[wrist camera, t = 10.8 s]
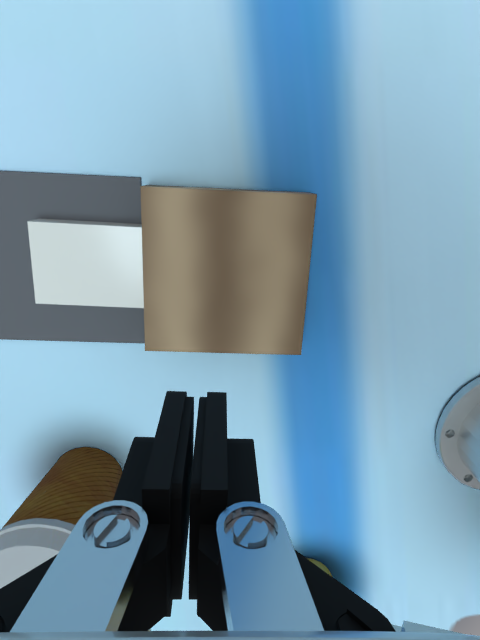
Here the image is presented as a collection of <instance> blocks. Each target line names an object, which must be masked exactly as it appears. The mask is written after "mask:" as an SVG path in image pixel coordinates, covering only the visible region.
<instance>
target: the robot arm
mask: <svg viewBox="0 0 480 640" xmlns="http://www.w3.org/2000/svg"><path fill="white" fill-rule="evenodd" d="M193 429H194V397H187V392H177V391H167V393H166V396H165V400H164V404H163V408H162V412H161V416H160V420H159V424H158V428H157V431H156V435H155V437H135V438H134V440H133V442H132V445H131V448H130V451H129V454H128V457H127V460H126V463H125V466H124V469H123V472H122V475H121V478H120V481H119V484H118V487H117V490H116V493H115V496H114V498H113V501H109V502H104V503H102V504H99V505H97V506H95V507H93V508H91V509H90V510H89V511H87V512H86V513H85V514H84V515H83V516H82V517H81V518H80V519H79V521H78V522H77V524H76V525H75V527H74V529H73V530H72V532H71V533H70V535H69V537H68V538H67V540H66V542H65V543H64V545H63V546H62V548H61V550H60V551H59V553H58V554H57V555H55V556H54V557H52V558H50V559H49V560H47V561H45V562H44V563H42V564H40V565H39V566H37V567H35V568H34V569H32V570H30V571H29V572H27V573H25V574H24V575H22V576H20V577H19V578H17V579H16V580H14V581H12V582H11V583H9V584H7V585H6V586H4V587H2V588H1V589H0V640H480V636H475V635H466V634H461V633H457V632H453V631H448V630H444V629H439V628H435V627H430V626H426V625H421V624H417V623H412V622H408V621H403V625H402V627H400V626H396V625H391V623H390V622H389V620H388V619H387V618H386V617H385V616H384V615H383V614H381V613H380V612H379V611H378V610H377V609H376V608H374V607H373V606H372V605H370V604H369V603H367V602H366V601H365V600H363V599H362V598H361V597H359V596H358V595H356V594H355V593H354V592H352V591H351V590H349V589H348V588H347V587H345V586H344V585H343V584H341V583H340V582H338V581H337V580H336V579H334V578H333V577H332V576H330V575H329V574H327V573H326V572H325V571H323V570H322V569H321V568H319V567H318V566H316V565H315V564H314V563H312V562H311V561H309V560H308V559H307V558H305V557H304V556H303V555H301V554H300V553H298V552H297V551H296V550H294V547H293V545H292V542H291V539H290V537H289V534H288V531H287V528H286V526H285V523H284V521H283V520H282V518H281V516H280V515H279V514H278V513H277V512H276V511H275V510H274V509H273V508H271V507H269V506H267V505H265V504H261V502H260V493H259V484H258V476H257V467H256V458H255V449H254V442H253V439H227V402H226V393H221V392H207V397H200V399H199V408H198V418H197V427H196V437H195V447H194V456H193ZM435 443H436V449H437V453H438V455H439V458H440V460H441V462H442V463H443V465H444V466H445V468H446V469H447V470H448V472H449V473H450V474H451V475H452V476H453V477H454V478H455V479H456V480H458V481H459V482H461V483H462V484H464V485H466V486H469V487H472V488H474V489H479V490H480V377H478V378H476V379H474V380H473V381H471V382H470V383H469V384H467V385H466V386H464V387H463V388H462V389H461V390H460V391H459V392H458V393H457V394H456V395H455V396H454V397H453V398H452V399H451V400H450V402H449V403H448V404H447V406H446V407H445V409H444V411H443V413H442V415H441V417H440V419H439V422H438V425H437V429H436V439H435ZM189 517H190V534H189V599H197V615H198V616H199V617H200V618H201V619H202V620H203V621H204V622H205V623H206V624H207V625H208V626H209V627H210V628H211V629H212V630H213V631H151V628H152V627H153V626H154V625H155V624H156V623H157V622H159V621H160V620H161V619H162V618H163V617H171V608H172V600H173V599H181V598H182V589H183V579H184V569H185V558H186V548H187V538H188V528H189Z"/></svg>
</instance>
